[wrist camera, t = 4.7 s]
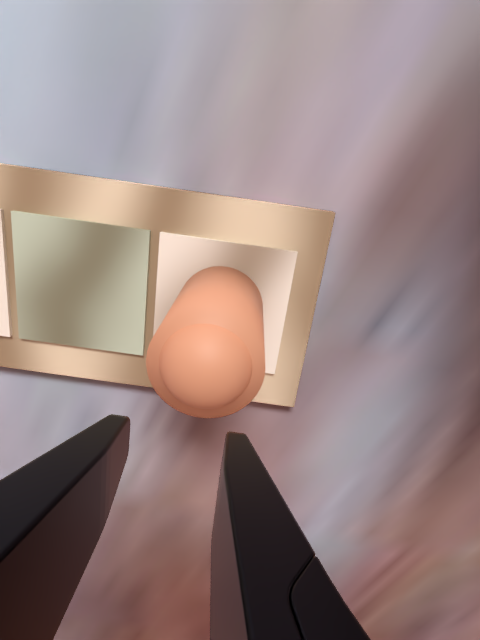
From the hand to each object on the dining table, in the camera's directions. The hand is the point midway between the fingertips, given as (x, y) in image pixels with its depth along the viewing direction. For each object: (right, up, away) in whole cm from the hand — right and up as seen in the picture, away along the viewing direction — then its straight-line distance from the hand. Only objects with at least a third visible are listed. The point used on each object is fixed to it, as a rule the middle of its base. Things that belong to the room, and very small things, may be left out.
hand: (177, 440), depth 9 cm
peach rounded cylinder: (+1, +3, +9) cm, 9 cm away
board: (-8, +5, +9) cm, 13 cm away
